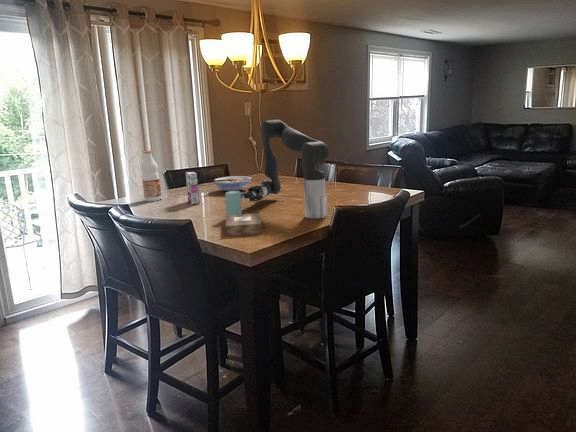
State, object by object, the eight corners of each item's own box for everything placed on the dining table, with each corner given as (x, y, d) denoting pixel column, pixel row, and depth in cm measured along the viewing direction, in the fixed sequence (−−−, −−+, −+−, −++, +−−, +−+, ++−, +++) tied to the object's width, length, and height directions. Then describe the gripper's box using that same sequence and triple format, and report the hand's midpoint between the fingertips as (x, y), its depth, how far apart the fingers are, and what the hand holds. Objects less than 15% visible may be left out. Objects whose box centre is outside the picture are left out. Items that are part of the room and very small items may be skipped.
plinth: (258, 221, 195) (257, 212, 194) (261, 233, 178) (261, 222, 177) (226, 224, 194) (225, 215, 193) (226, 235, 176) (225, 225, 175)
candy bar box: (200, 204, 238) (197, 173, 234) (191, 205, 236) (187, 174, 232) (196, 200, 248) (194, 171, 244) (187, 201, 246) (184, 172, 243)
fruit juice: (142, 200, 256) (136, 151, 250) (158, 197, 261) (153, 149, 255) (147, 202, 249) (141, 152, 242) (164, 200, 254) (158, 150, 247)
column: (241, 216, 206) (240, 191, 203) (236, 219, 202) (234, 193, 199) (232, 216, 208) (230, 191, 205) (227, 218, 204) (225, 193, 201)
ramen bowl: (255, 186, 282) (255, 174, 280) (251, 193, 260) (250, 180, 258) (216, 188, 283) (215, 175, 281) (209, 195, 261) (208, 181, 259)
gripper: (244, 184, 227) (228, 190, 213) (269, 185, 222) (255, 191, 207) (245, 199, 229) (229, 206, 215) (270, 200, 224) (256, 207, 209)
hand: (242, 199), depth 211 cm, fingers open, 8 cm apart
